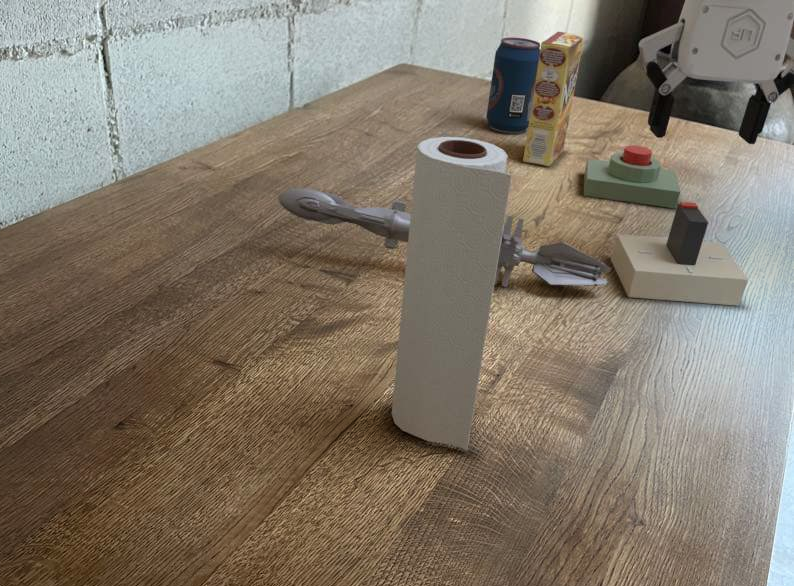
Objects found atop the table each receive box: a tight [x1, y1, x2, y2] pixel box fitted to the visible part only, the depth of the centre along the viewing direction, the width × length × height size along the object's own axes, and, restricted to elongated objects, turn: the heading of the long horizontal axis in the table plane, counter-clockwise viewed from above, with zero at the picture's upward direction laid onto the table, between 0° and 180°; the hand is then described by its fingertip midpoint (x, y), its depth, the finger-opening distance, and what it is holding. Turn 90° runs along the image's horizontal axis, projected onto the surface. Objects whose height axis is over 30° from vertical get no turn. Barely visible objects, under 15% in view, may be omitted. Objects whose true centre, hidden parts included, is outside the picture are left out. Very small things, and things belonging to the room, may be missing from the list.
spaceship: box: [278, 187, 612, 288], centre depth 95 cm, size 8×35×8 cm
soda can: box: [486, 37, 541, 135], centre depth 138 cm, size 7×7×12 cm
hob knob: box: [666, 201, 709, 265], centre depth 97 cm, size 5×2×5 cm, turn 0°
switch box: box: [583, 152, 681, 210], centre depth 122 cm, size 12×9×4 cm
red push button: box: [622, 145, 653, 166], centre depth 121 cm, size 4×4×2 cm
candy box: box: [522, 31, 585, 167], centre depth 127 cm, size 9×4×15 cm, turn 159°
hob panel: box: [610, 233, 749, 307], centre depth 100 cm, size 12×10×3 cm
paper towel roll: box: [391, 136, 513, 452], centre depth 67 cm, size 7×6×21 cm
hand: (701, 137), depth 95 cm, fingers open, 9 cm apart
